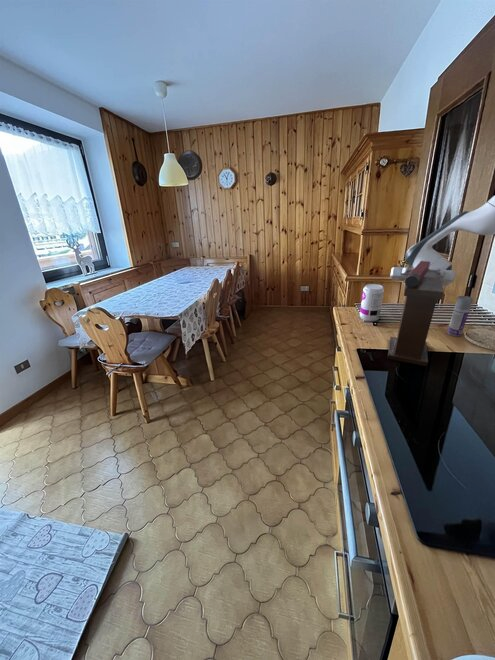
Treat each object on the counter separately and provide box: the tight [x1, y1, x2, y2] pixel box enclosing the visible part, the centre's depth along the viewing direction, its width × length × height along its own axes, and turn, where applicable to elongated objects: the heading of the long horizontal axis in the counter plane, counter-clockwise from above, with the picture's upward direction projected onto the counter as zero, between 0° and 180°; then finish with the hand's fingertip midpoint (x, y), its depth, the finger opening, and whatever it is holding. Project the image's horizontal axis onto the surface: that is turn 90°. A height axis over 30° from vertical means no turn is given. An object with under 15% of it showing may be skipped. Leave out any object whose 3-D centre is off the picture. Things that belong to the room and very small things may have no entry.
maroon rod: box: [404, 261, 430, 288], centre depth 93 cm, size 22×4×4 cm, turn 141°
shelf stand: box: [386, 276, 445, 367], centre depth 96 cm, size 14×12×26 cm
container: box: [446, 295, 474, 337], centre depth 108 cm, size 5×5×15 cm
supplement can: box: [359, 283, 385, 322], centre depth 124 cm, size 8×8×15 cm
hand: (423, 269), depth 98 cm, fingers open, 8 cm apart
